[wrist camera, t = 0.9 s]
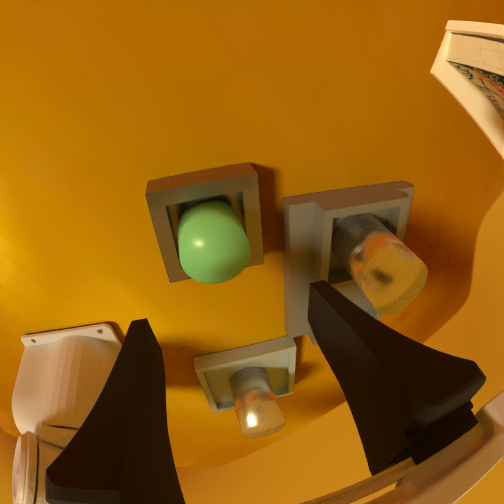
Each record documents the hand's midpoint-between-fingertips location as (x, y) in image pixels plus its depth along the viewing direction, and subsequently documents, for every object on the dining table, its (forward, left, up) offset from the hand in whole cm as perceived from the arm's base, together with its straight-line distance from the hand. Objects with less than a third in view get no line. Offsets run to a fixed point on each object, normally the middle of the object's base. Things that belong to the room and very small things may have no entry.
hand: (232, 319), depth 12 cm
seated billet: (+10, -3, -8) cm, 13 cm away
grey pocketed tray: (+10, -6, -9) cm, 15 cm away
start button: (0, 0, -7) cm, 7 cm away
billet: (+1, -18, -8) cm, 20 cm away
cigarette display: (+27, +7, -9) cm, 29 cm away
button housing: (0, 0, -9) cm, 9 cm away
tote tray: (+1, -18, -9) cm, 20 cm away
